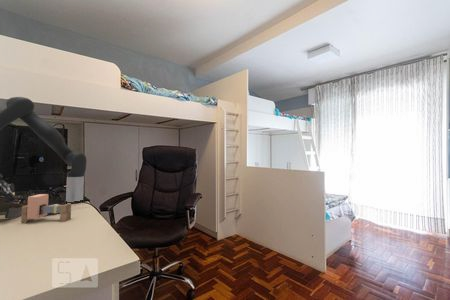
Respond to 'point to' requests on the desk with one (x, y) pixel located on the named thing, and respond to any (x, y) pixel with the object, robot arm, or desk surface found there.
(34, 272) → the desk surface
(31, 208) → the collar
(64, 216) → the stand
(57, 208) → the grey metal bar
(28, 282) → the desk surface
